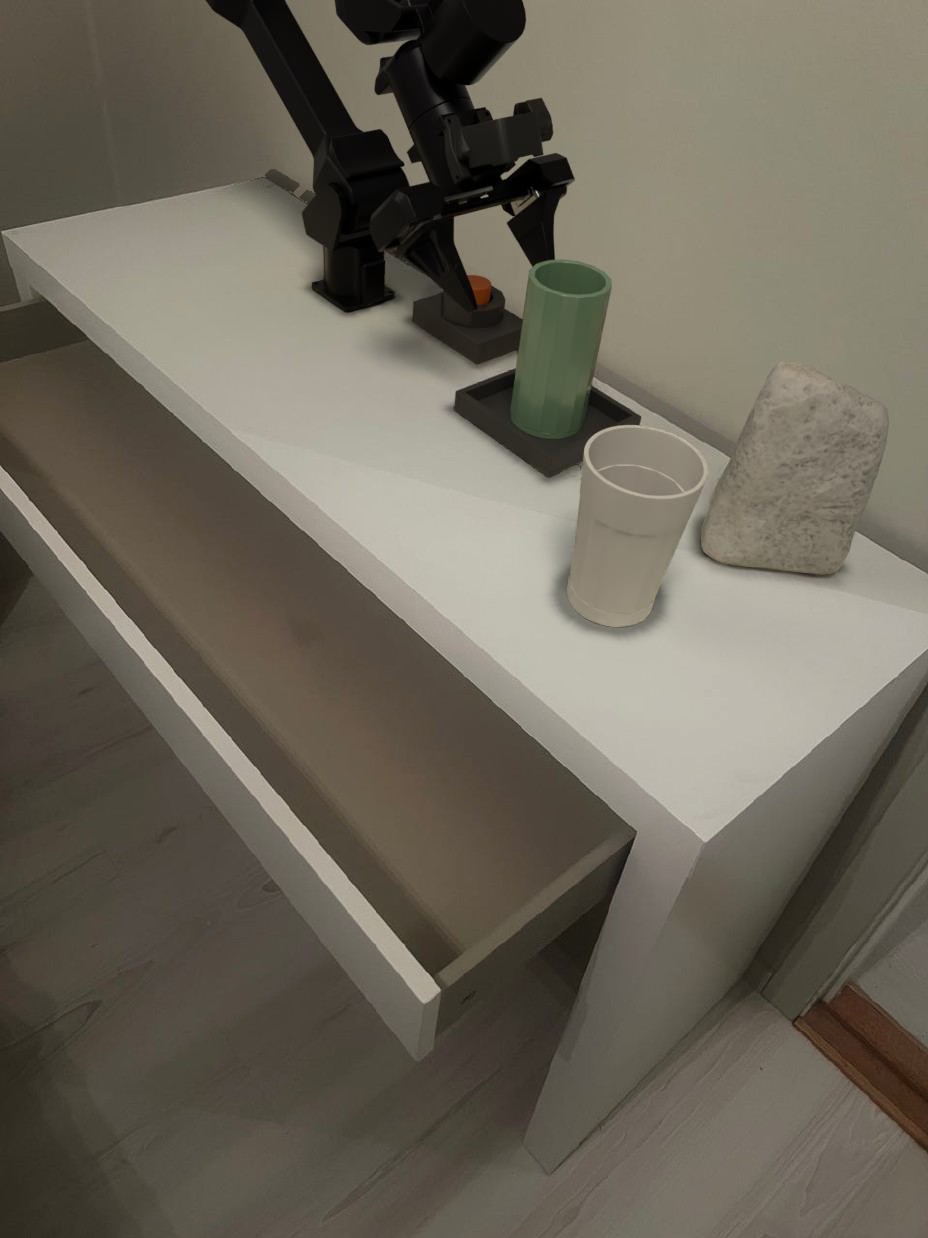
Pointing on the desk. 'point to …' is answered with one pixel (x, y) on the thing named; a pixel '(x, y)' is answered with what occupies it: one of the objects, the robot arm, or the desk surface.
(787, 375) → the decorative stone
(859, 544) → the desk surface
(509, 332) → the push button box
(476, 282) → the button
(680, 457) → the cup
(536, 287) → the canister
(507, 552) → the desk surface
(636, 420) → the drip tray
